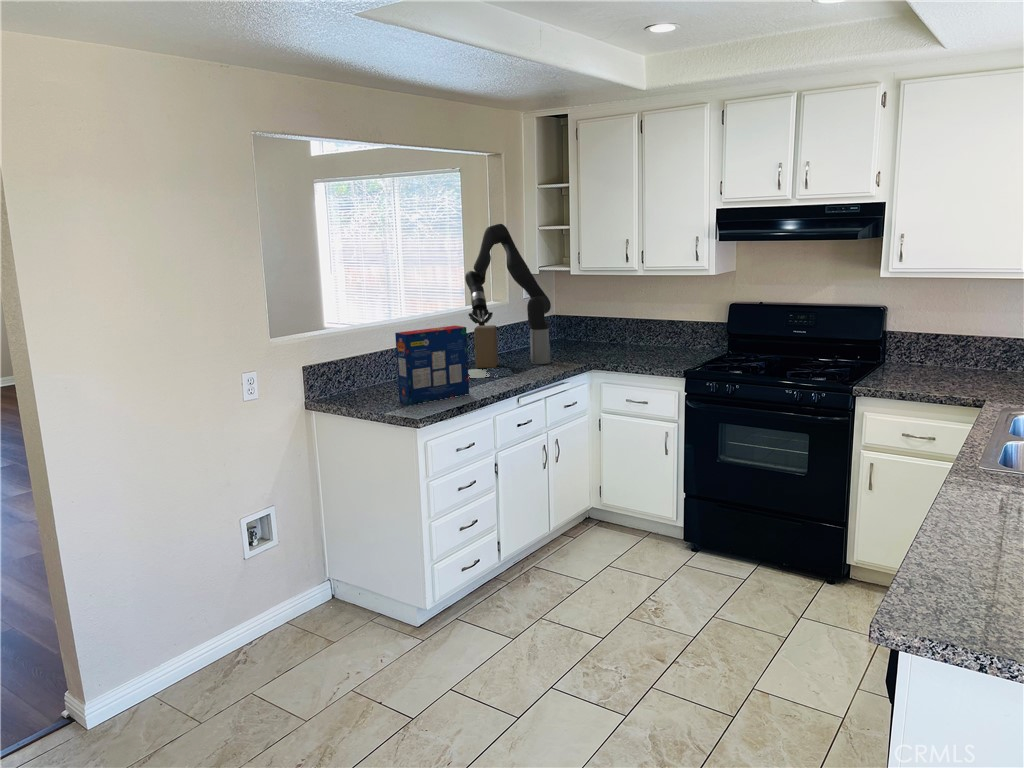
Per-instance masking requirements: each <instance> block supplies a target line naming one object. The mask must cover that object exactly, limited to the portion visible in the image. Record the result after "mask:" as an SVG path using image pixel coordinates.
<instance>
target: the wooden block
mask: <svg viewBox="0 0 1024 768" xmlns="http://www.w3.org/2000/svg"><path fill="white" fill-rule="evenodd" d="M473 333H474V334H473V335H474V337H473V338H474V356H475V357H474V358H475V359H474V361H475V369H478V368H487V369H488V368H497V366H498V365H499V355H498V354H499V353H498V329H497V325H494V324H490V325H488V324H485V326H479V325H477V326H475V328H474V330H473Z"/></svg>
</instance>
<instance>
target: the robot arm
mask: <svg viewBox="0 0 1024 768" xmlns="http://www.w3.org/2000/svg"><path fill="white" fill-rule="evenodd" d="M483 232H484V233H483V237H482V241H481V245H480V250H479V253H478V256H477V257H476V260H475V262H474V263H473V264H474V265H473V270H474V271H473V270H468V271H467V272H466V273H465V277H464V278H465V283H466V285H467V287H468V289H469V291H470V304H471V309H473V310H472V311H471V313H470V312H469V313H468V316H469V317H470V318H469V317H468V318H469V319H470V320H471V321H472V322H473V323H474V324H478V326H486V324H488V322H490V320H491V319H492V317H493V312H492V311H491V312H490V311H489V309H488V307H487V299H486V295H485V289H484V286H483V285H485V282H486V275H487V270H488V268H489V267H490V264H491V261H492V257H491V250H492V248H493V247H494V245H498V244H501V245H502V247H503V249H504V251H505V255H506V269H507V270H508V273H509V274H510V276H511V278H512V279H513V281H514V282H516V284H517V285H518V286H520V287H521V288H522V289H523V290H524V291H525V292H526V293H527V294H528V297H529V300H528V302H527V307H526V308H527V309H526V310H527V311H526V312H527V322H528V325H529V333H530V334H529V340H530V364H532V365H546V364H551V344H550V339H549V338H550V336H549V334H550V333H549V322H548V321H546V319H545V318H546V317H545V314H547V313H549V312H550V311H551V309H552V305H551V304H552V303H551V301H550V299H549V297H548V296H547V295H546V293H545V291H544V290H543V289H542V288H541V287H540V284H539V283H538V282H537V281H536V278H535V276H534V275H533V274H532V272H531V270H530V268H529V266H528V265H527V263H526V262H525V260H524V258H523V257H522V255H521V254H520V251H519V250H518V248H517V247H516V244H515V242H514V240H513V238H512V236H511V233H510V232H509V229H508V228H507V227H506V226H505V225H504V224H502V223H496V224H493V225H490V226H488V227H486V228H485V230H484V231H483Z"/></svg>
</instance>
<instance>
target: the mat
mask: <svg viewBox="0 0 1024 768" xmlns="http://www.w3.org/2000/svg"><path fill="white" fill-rule="evenodd" d="M487 370H488V368H487ZM487 370H486V369H483V370H482V369H478V368H475V369H473V368H472V369H471V368H470V369H468V374H469V375H470V376H469V377H470V378H477V379H486V378H485V377H489V376H490V375H489V374H490V373H489V372H488V373H489V374H488V373H487V372H486V371H487ZM486 373H487V374H486ZM486 375H487V376H486ZM495 375H496V374H495ZM494 378H499V377H498V375H497V376H496V377H495V376H494Z"/></svg>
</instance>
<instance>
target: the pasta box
mask: <svg viewBox="0 0 1024 768" xmlns="http://www.w3.org/2000/svg"><path fill="white" fill-rule="evenodd" d="M467 332H468V331H467V327H466V326H461V325H451V326H440V327H434V328H433V327H432V328H431V327H430V328H426V329H425V328H424V329H415V330H407V331H400V332H399V331H398V332H394V335H395V351H396V352H395V353H396V365H397V366H396V367H397V383H398V395H399V397H398V398H399V403H400V402H401V404H403V403H404V405H406V404H407V405H406V406H409V405H411V406H414V405H413V404H416V405H419V404H418V403H422V404H424V403H423V402H427V403H430V402H429V401H433V402H435V401H434V400H438V401H441V400H440V399H443V400H446V399H445V398H449V399H451V398H450V397H454V398H456V397H455V396H460V395H465V394H469V395H470V384H469V383H470V382H469V380H470V379H469V377H468V370H469V356H468V336H467V335H468V333H467ZM465 396H466V395H465ZM460 397H461V396H460Z"/></svg>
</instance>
